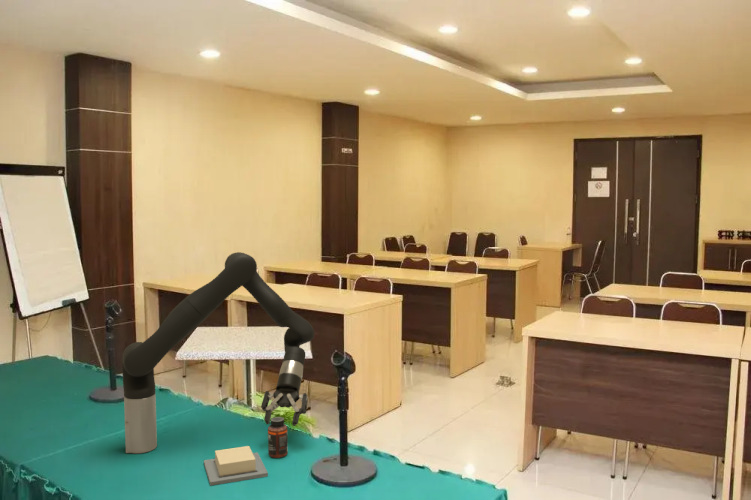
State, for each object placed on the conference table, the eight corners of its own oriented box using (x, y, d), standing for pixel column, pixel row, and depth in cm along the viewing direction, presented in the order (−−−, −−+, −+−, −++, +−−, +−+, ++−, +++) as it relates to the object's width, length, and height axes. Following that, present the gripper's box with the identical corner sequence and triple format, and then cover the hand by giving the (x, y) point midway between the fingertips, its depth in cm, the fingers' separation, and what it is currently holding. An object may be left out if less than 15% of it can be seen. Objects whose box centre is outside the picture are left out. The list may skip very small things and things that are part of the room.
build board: (210, 485, 175) (209, 470, 174) (203, 463, 188) (203, 448, 188) (267, 476, 180) (267, 461, 180) (257, 455, 194) (257, 441, 194)
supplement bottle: (291, 452, 197) (290, 416, 196) (282, 459, 191) (281, 423, 190) (273, 449, 199) (273, 414, 198) (264, 457, 193) (264, 421, 192)
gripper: (266, 370, 205) (255, 417, 195) (309, 372, 203) (300, 420, 193) (271, 381, 211) (261, 427, 201) (313, 383, 209) (304, 430, 199)
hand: (280, 424), depth 197 cm, fingers open, 8 cm apart
